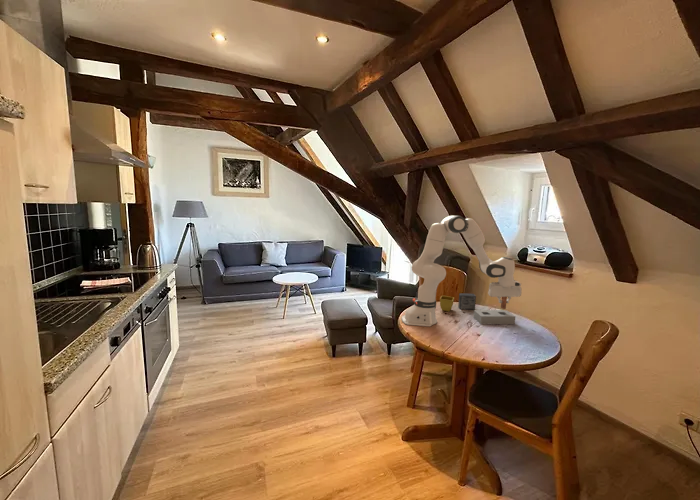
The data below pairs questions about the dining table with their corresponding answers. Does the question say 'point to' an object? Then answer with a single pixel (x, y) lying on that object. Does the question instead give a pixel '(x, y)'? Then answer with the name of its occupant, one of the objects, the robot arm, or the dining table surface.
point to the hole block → (494, 317)
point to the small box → (467, 301)
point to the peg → (503, 302)
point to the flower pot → (446, 303)
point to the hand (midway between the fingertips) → (503, 302)
